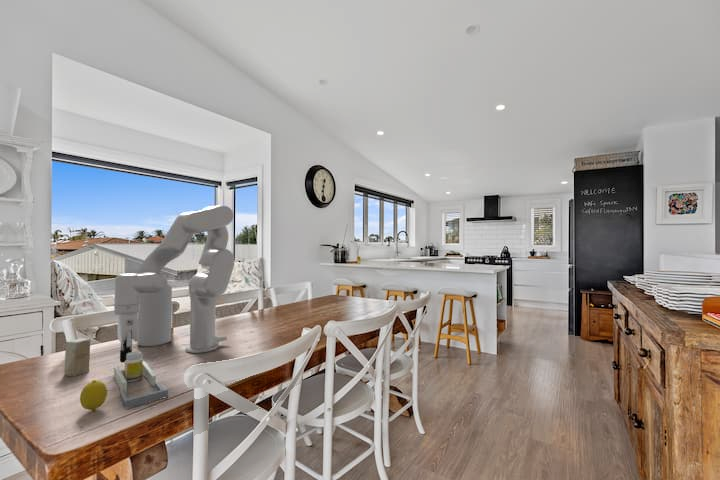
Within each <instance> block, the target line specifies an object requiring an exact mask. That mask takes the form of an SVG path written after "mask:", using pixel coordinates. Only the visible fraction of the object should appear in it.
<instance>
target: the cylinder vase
mask: <svg viewBox="0 0 720 480" xmlns="http://www.w3.org/2000/svg"><path fill="white" fill-rule="evenodd" d="M172 288H173V285H172V284H171V283H170V284H169V283H167V286H166V288H165V289H164V290H162V291H161V292H158V293H141V299H140V312H139V313H137V316H138V341H137V345H138V346H140V347H156V346H161V345H165V344H167V343H169V342H170V341H171V340H172V303H173V302H172V296H173V294H172V293H173V291H172V290H173V289H172Z"/></svg>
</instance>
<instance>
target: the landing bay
mask: <svg viewBox="0 0 720 480" xmlns="http://www.w3.org/2000/svg"><path fill="white" fill-rule="evenodd" d="M154 387H155V388H156V391H153V392H149V393H145V394H142V395H139V396H135V397H130V398H129V397H128V396H127V394H126V393H125V392H124V391H121V390H120V391H119V397H120V399H121V401H122V403H123V405H124V408H125V409H129V408H133V407H136V406H139V405H140V406H141V405H144V404H146V402H147V403H150V402H149V401H151V402H154V401H153V400H155V401H157V400H156V399H159V400H161V399H160V398H162V399H164V398H163V397H166V398H168V397H169V389H168V388H164V386H163V385H162V384H161V383H160V381H158V382H157V381H156V383H155V386H154ZM157 390H159V391H157ZM167 396H168V397H167ZM143 403H144V404H143Z"/></svg>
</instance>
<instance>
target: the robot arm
mask: <svg viewBox="0 0 720 480" xmlns="http://www.w3.org/2000/svg"><path fill="white" fill-rule="evenodd" d="M233 219H234V212H233V210H232V209H231V207H229V206H227V205H223V204H222V205H210V206H206V207H204V208H203V209H202V210H197V211H186V212H181V213H180V214H179V215H178V216H177V217H176V218H175V219H174V221H173V223H171V224H172V225H171V226H170V228H169V230H167V233H166V234H165V235H164V238H163V239H162V240H161V242H160V243H159V245H157V247H155V248H154V249H153V251H152V252H150V254H149V255H148V256H147V257H145V259H144V260H143V262H142V263H141V265H140V266H139V268H138V270H137V272H136V273H133V272H132V273H129V272H128V273H119V274H117V275H116V277H115V281H114V305H113V306H114V308H113V309H114V311H113V314H114V315H116V316H117V339H118V341H119V343H120V350H119V361H120V363H125V361H126V360H127V359H126V355H127V353H130V352H133V342H137V341H138V313H139V312H140V299H141V293H158V292H161V291H162V290H164V289H165V288H166V286H167V284H169V282H168V279H167V276H165V275H164V274H163V273H161V272H162V270H163V269H164V268H165V267H166V266H167V265H168V264H169V263H170V262H171V261H174V260H175V259H177V258H178V257H180V256H182V255H183V254H184V253H185V250H186V249H187V247H188V245H189V244H190V242H191V241H192V238H193V237H194V236H195V234H201V233H205V232H207V234H206V235H207V236H206V240H205V244H204V246H203V250H202V253H201V256H200V259H199V264H200V266H201V268H203V269H205V270H209V271H208V272H198V273H195V274H194V275H192V277H191V278H190V280H189V282H188V292H189V293H188V294H189V298H190V317H189V323H190V324H189V344H188V345H186V346H185V351H186V352H187V353H191V354H202V353H208V352H212V351H215V350H217V349H219V346H220V344H219V343H220V342H224V341H228V340H227V339H228V338H227V335H224V336H223V335H218V336H217V335H216V310H217V309H216V298H219V297H221V296H222V295H224V294H225V293H226V292H227V288H228V287H229V283H230V281H231V276H232V273H233V270H234V267H235V256H234V253H233V252H232V251H231V250H230V249H227V247H228V242H229V230H228V228H227V226H228V225H230V224H231V223H232V222H233Z"/></svg>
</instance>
